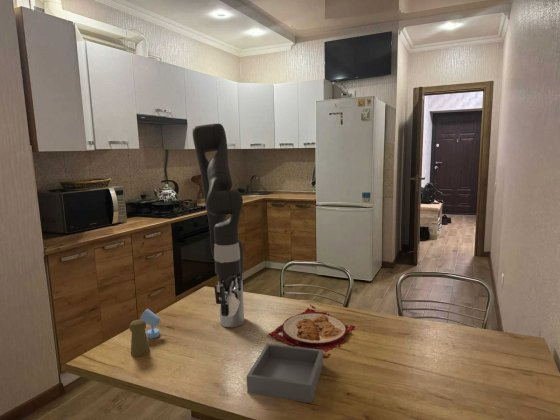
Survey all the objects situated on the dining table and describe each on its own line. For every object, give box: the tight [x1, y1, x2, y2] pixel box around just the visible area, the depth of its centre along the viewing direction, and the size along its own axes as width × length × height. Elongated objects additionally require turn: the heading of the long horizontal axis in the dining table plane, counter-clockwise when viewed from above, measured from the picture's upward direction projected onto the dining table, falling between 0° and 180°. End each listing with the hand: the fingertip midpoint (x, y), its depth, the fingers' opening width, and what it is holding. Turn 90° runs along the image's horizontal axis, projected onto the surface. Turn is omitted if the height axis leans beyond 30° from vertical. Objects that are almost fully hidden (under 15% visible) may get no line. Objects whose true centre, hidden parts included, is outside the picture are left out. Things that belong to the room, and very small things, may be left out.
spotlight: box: [139, 308, 161, 339], centre depth 139 cm, size 5×10×7 cm
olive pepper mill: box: [129, 318, 151, 358], centre depth 127 cm, size 6×6×11 cm
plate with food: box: [267, 304, 357, 357], centre depth 138 cm, size 25×26×4 cm
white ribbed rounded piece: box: [218, 293, 240, 316], centre depth 115 cm, size 6×6×7 cm
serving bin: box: [246, 342, 324, 403], centre depth 110 cm, size 18×18×5 cm
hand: (229, 310), depth 116 cm, fingers closed on white ribbed rounded piece, 6 cm apart
